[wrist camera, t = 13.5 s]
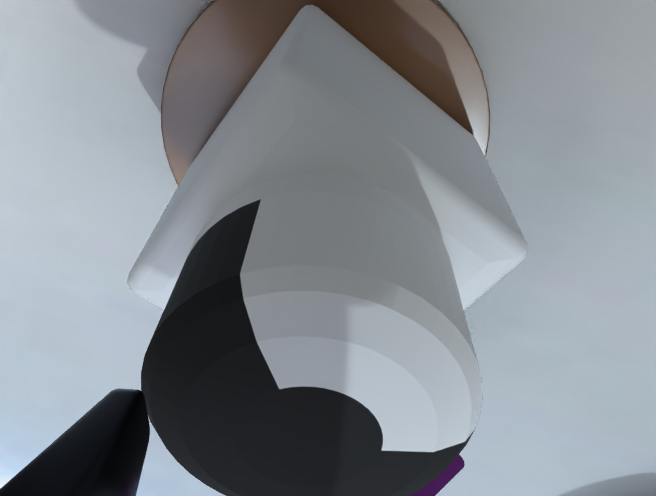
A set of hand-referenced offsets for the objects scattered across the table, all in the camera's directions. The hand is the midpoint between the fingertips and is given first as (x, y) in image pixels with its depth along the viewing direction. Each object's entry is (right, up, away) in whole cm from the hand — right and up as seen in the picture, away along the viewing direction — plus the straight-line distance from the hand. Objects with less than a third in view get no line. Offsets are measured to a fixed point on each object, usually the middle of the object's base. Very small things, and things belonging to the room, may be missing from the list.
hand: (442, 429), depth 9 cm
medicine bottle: (-2, +6, +11) cm, 13 cm away
